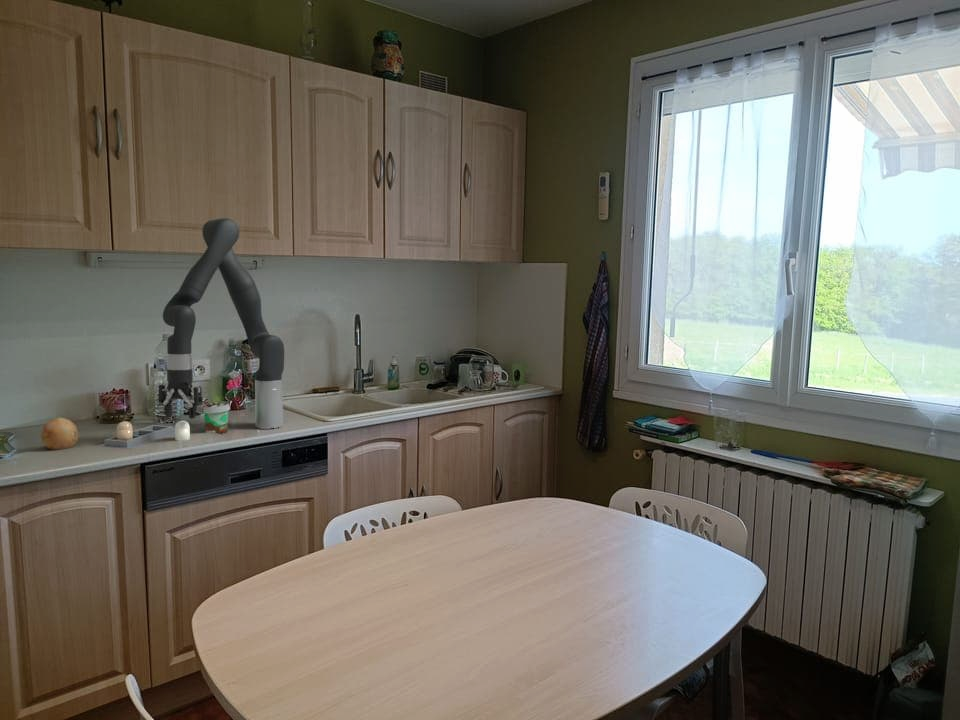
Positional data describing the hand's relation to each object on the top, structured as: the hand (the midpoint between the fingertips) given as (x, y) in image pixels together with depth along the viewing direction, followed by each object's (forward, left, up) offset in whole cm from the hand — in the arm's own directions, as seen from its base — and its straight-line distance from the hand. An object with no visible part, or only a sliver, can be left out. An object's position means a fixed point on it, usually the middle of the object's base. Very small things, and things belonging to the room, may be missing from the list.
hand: (180, 417), depth 215 cm
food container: (-15, +4, -8) cm, 18 cm away
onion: (+19, -28, -8) cm, 34 cm away
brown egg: (+10, -13, -7) cm, 18 cm away
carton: (+3, -13, -8) cm, 15 cm away
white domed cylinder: (0, 0, -8) cm, 8 cm away
